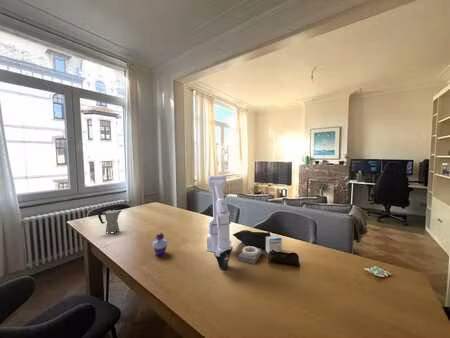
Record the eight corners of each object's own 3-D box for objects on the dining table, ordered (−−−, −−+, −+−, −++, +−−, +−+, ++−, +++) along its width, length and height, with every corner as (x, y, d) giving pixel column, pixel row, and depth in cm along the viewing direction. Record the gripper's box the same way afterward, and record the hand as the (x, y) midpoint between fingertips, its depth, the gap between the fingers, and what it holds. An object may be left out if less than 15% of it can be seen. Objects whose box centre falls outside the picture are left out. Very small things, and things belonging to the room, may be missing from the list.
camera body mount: (238, 260, 110) (238, 253, 110) (246, 250, 122) (246, 243, 122) (255, 264, 107) (255, 256, 106) (261, 253, 118) (261, 246, 118)
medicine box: (269, 254, 117) (269, 239, 116) (265, 251, 121) (265, 236, 121) (281, 252, 119) (282, 237, 118) (277, 249, 123) (277, 234, 123)
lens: (217, 269, 102) (217, 255, 102) (221, 264, 106) (221, 251, 106) (226, 271, 100) (226, 256, 100) (229, 266, 104) (229, 252, 104)
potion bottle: (171, 251, 121) (170, 231, 121) (163, 258, 113) (162, 237, 112) (158, 250, 124) (157, 230, 123) (149, 256, 115) (148, 235, 115)
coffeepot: (120, 227, 163) (119, 205, 161) (123, 231, 155) (122, 207, 154) (97, 232, 153) (96, 208, 152) (100, 236, 146) (98, 210, 144)
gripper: (225, 244, 94) (225, 273, 95) (236, 233, 107) (236, 259, 108) (211, 241, 97) (211, 270, 98) (224, 231, 110) (224, 256, 111)
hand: (223, 264), depth 103 cm, fingers open, 6 cm apart
